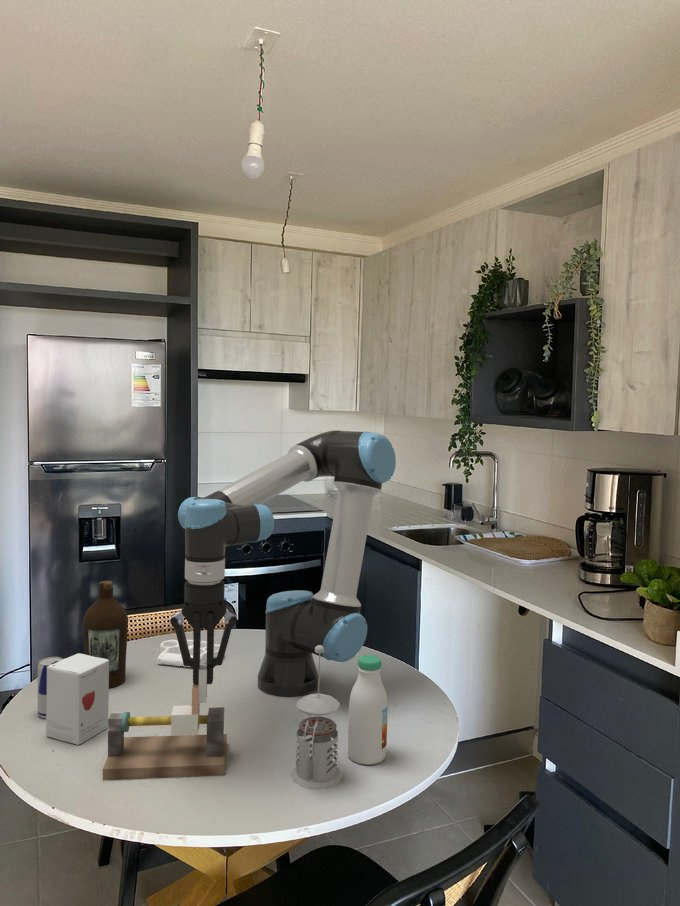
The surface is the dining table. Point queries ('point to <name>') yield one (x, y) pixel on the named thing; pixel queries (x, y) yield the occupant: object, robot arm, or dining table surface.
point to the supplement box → (77, 698)
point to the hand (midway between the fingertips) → (202, 699)
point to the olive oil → (107, 632)
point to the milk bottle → (368, 714)
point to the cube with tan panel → (186, 716)
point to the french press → (317, 741)
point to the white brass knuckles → (173, 655)
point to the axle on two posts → (164, 749)
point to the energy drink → (44, 683)
